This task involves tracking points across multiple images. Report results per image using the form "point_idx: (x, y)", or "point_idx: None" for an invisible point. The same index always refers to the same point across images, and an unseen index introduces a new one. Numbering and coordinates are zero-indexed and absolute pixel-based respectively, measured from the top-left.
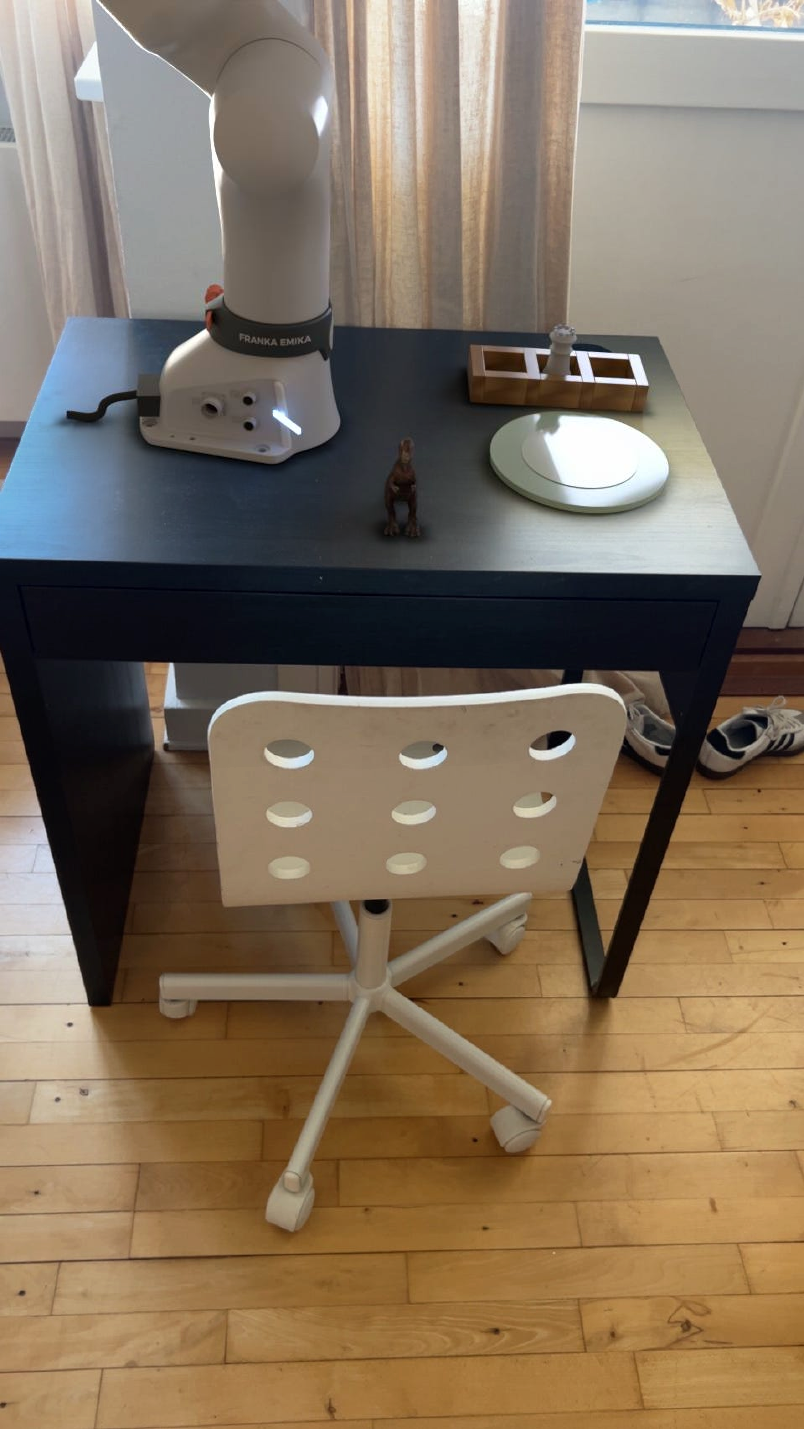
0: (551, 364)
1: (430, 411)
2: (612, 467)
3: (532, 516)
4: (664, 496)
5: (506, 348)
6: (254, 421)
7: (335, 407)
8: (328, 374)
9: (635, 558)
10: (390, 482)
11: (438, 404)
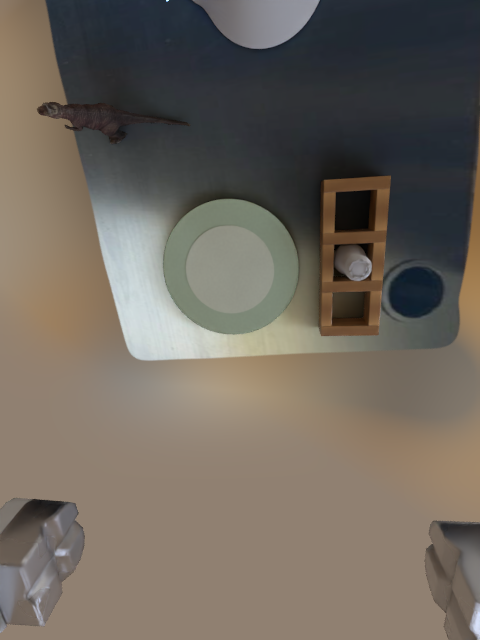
0: (347, 256)
1: (301, 142)
2: (217, 294)
3: (157, 231)
4: None
5: (383, 213)
6: None
7: (260, 36)
8: (249, 8)
9: (126, 298)
10: (69, 105)
11: (314, 149)
